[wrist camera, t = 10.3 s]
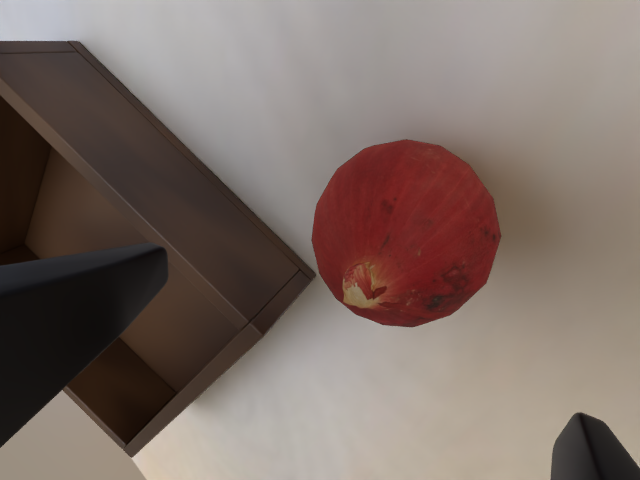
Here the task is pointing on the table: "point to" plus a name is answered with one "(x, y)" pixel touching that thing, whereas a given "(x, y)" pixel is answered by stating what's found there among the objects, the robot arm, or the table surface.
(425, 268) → the onion
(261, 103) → the table surface
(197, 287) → the open wooden box
